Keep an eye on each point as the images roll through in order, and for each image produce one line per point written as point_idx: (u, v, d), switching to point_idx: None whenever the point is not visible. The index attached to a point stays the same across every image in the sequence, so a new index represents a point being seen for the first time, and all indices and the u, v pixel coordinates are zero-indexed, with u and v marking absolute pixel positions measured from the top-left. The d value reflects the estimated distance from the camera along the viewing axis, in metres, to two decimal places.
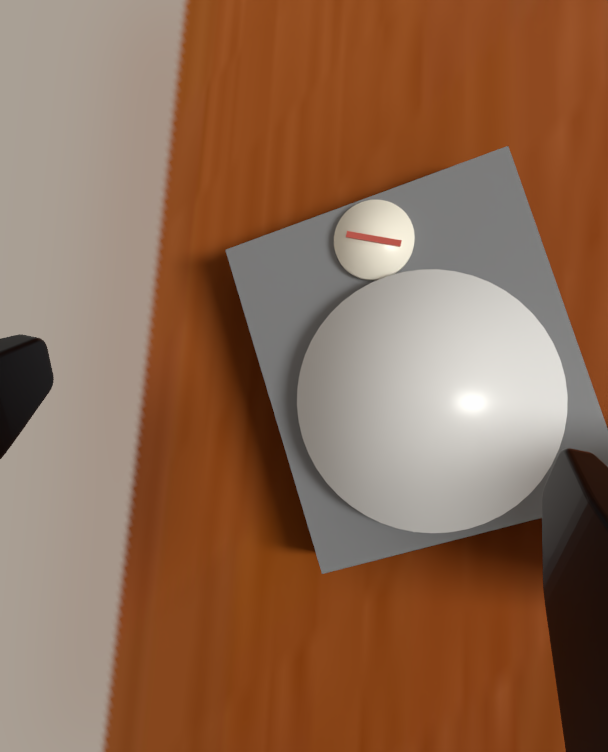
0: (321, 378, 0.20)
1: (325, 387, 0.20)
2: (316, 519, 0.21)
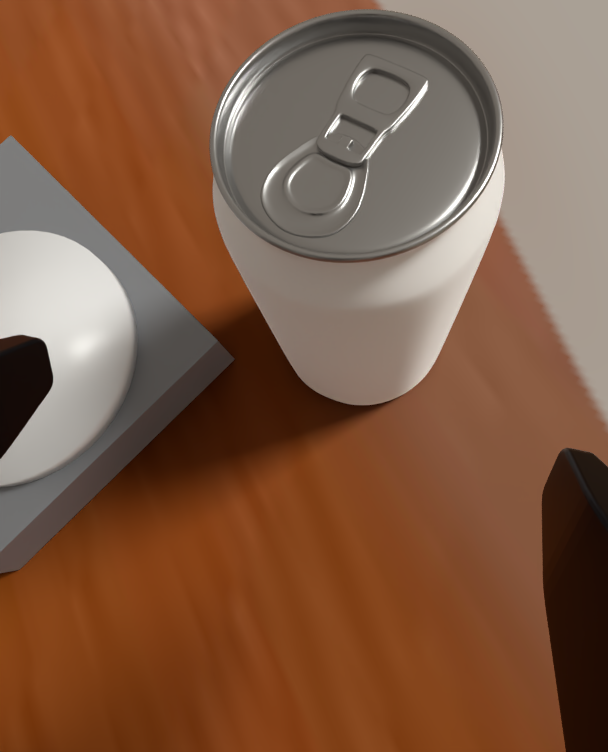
0: None
1: None
2: None
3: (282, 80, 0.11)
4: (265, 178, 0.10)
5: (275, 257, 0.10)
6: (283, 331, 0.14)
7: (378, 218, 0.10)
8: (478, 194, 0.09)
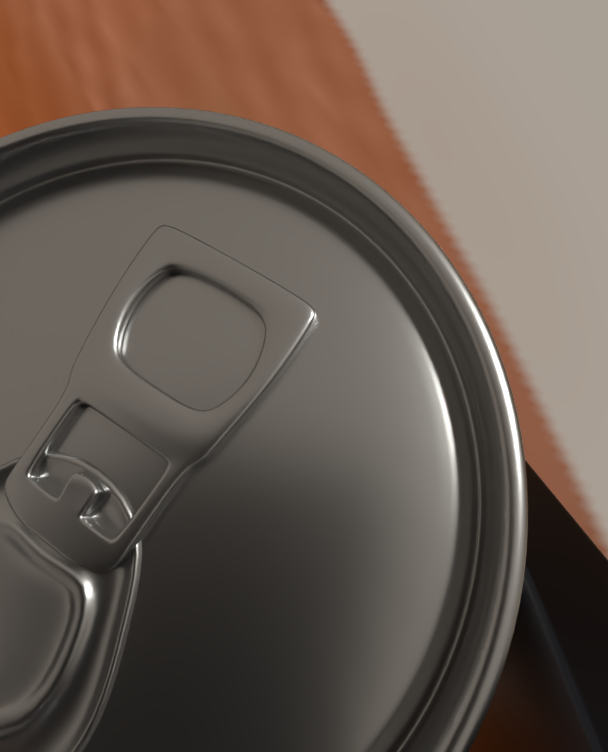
0: None
1: None
2: None
3: None
4: None
5: None
6: None
7: None
8: None
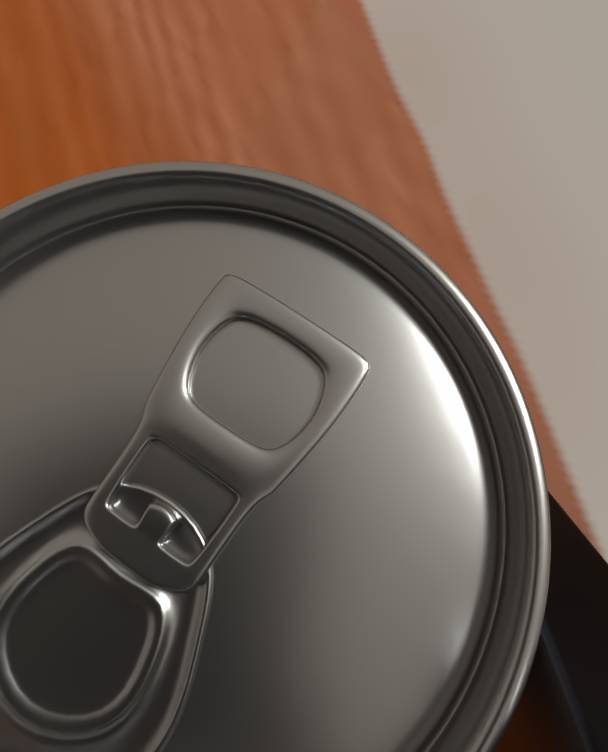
0: None
1: None
2: None
3: (24, 315, 0.04)
4: None
5: None
6: None
7: None
8: None
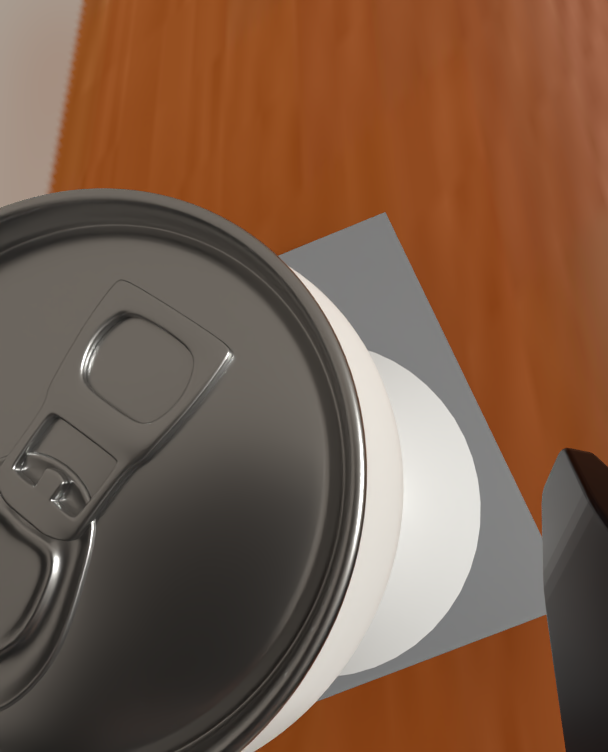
0: None
1: None
2: None
3: None
4: None
5: None
6: None
7: (92, 683, 0.04)
8: (293, 686, 0.04)
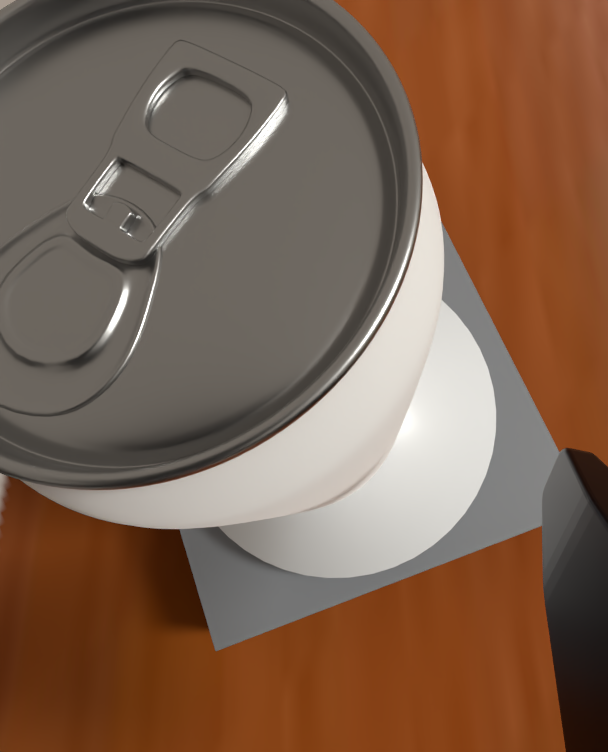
0: None
1: None
2: (206, 575, 0.16)
3: (28, 88, 0.06)
4: None
5: None
6: None
7: (165, 380, 0.05)
8: (359, 349, 0.04)
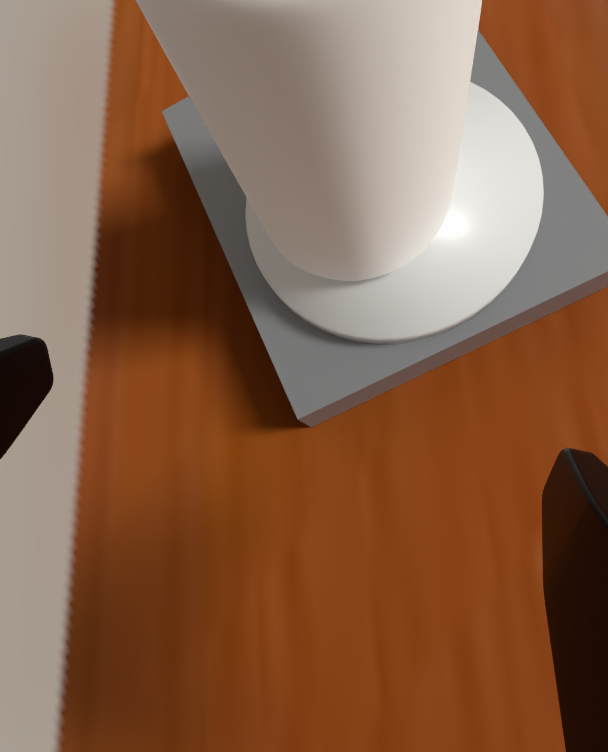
0: None
1: None
2: (283, 358, 0.18)
3: None
4: None
5: None
6: (226, 127, 0.10)
7: None
8: None
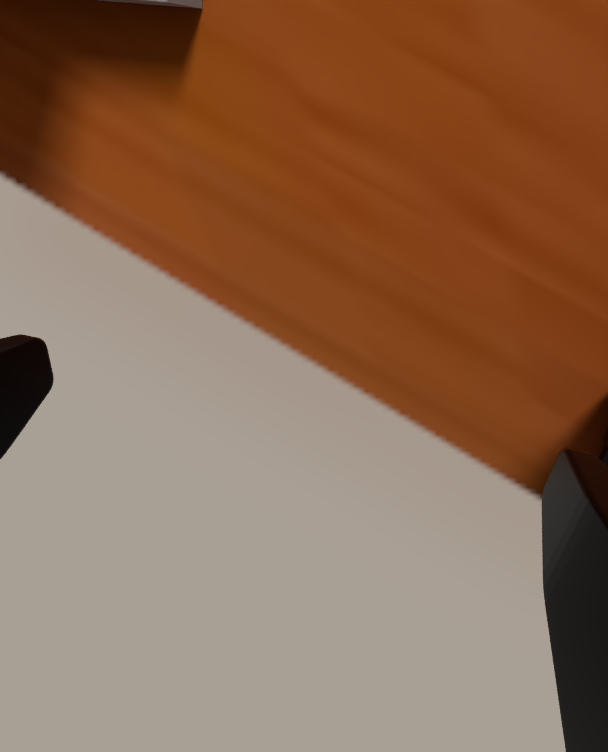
0: None
1: None
2: None
3: None
4: None
5: None
6: None
7: None
8: None
